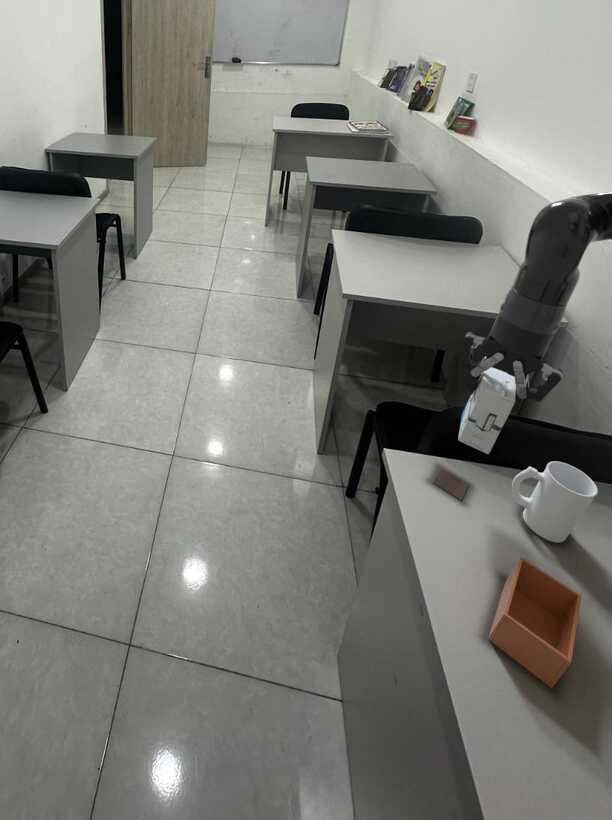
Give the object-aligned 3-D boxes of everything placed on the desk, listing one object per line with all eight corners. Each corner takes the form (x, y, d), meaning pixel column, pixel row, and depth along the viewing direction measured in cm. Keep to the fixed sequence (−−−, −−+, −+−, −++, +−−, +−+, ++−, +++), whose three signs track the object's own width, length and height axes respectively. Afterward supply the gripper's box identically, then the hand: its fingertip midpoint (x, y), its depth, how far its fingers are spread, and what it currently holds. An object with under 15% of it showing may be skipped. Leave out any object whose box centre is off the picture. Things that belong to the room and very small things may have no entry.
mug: (563, 521, 86) (592, 473, 81) (570, 553, 80) (602, 504, 75) (497, 493, 90) (522, 446, 85) (500, 521, 85) (526, 473, 80)
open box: (562, 622, 70) (581, 595, 68) (550, 689, 63) (571, 662, 60) (504, 582, 75) (520, 556, 72) (486, 640, 67) (503, 613, 65)
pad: (468, 486, 91) (469, 484, 91) (460, 502, 87) (461, 500, 87) (440, 469, 94) (440, 467, 94) (431, 484, 91) (432, 482, 90)
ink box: (461, 412, 90) (483, 362, 85) (492, 425, 87) (517, 374, 82) (456, 441, 83) (480, 388, 78) (489, 456, 80) (516, 402, 76)
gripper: (588, 330, 73) (543, 414, 80) (482, 291, 82) (451, 370, 89) (582, 350, 68) (535, 437, 75) (471, 306, 77) (438, 388, 84)
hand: (490, 400), depth 82 cm, fingers closed on ink box, 5 cm apart
